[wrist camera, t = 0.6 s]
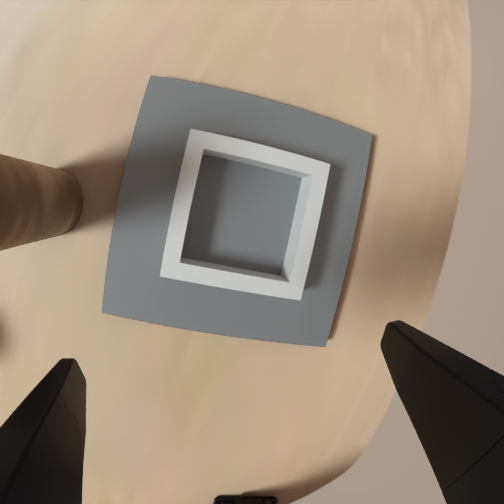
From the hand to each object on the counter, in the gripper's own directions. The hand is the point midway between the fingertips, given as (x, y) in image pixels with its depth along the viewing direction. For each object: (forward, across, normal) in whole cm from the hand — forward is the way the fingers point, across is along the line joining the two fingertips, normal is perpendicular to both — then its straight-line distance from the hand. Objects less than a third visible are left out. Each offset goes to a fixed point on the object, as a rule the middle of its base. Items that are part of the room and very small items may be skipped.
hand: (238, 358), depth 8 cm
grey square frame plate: (+14, -2, +2) cm, 14 cm away
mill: (+15, +11, 0) cm, 18 cm away
